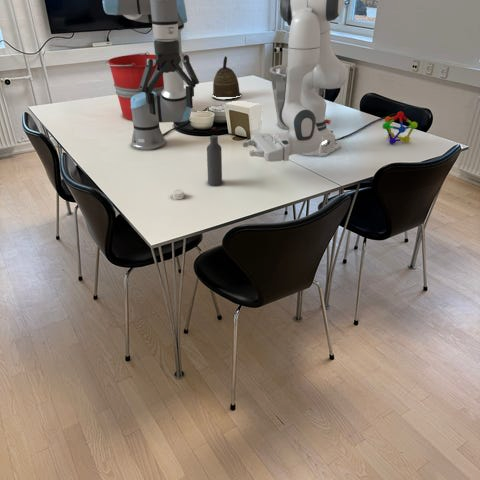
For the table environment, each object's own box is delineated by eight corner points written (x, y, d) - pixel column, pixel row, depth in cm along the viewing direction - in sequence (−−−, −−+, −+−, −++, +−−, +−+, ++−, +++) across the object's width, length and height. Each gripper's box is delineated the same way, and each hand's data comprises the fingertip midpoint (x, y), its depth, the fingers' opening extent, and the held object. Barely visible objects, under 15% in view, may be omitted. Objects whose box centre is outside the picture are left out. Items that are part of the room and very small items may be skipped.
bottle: (206, 181, 173) (204, 134, 163) (219, 179, 174) (218, 133, 164) (210, 186, 168) (208, 139, 159) (223, 185, 170) (223, 138, 160)
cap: (171, 199, 159) (171, 194, 158) (173, 194, 163) (173, 189, 162) (183, 199, 159) (182, 194, 158) (184, 194, 163) (184, 189, 161)
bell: (227, 105, 294) (202, 96, 282) (238, 66, 289) (213, 55, 277) (243, 108, 280) (217, 98, 268) (255, 66, 275) (229, 55, 263)
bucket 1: (122, 105, 263) (114, 51, 248) (180, 106, 263) (177, 52, 247) (105, 123, 234) (95, 63, 218) (171, 124, 233) (166, 64, 217)
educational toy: (377, 146, 209) (379, 114, 202) (384, 138, 219) (386, 107, 211) (411, 149, 202) (415, 116, 195) (417, 141, 212) (420, 109, 204)
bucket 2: (296, 138, 215) (301, 78, 201) (255, 124, 234) (256, 68, 219) (335, 125, 232) (342, 70, 217) (294, 113, 251) (297, 61, 236)
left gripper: (133, 44, 124) (141, 119, 135) (207, 37, 137) (210, 106, 148) (122, 41, 129) (131, 113, 141) (195, 35, 142) (198, 102, 153)
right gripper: (271, 128, 178) (238, 131, 175) (290, 146, 161) (254, 150, 158) (271, 143, 181) (238, 147, 178) (289, 162, 165) (254, 167, 162)
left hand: (171, 110), depth 144 cm, fingers open, 13 cm apart
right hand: (246, 149), depth 168 cm, fingers open, 8 cm apart
